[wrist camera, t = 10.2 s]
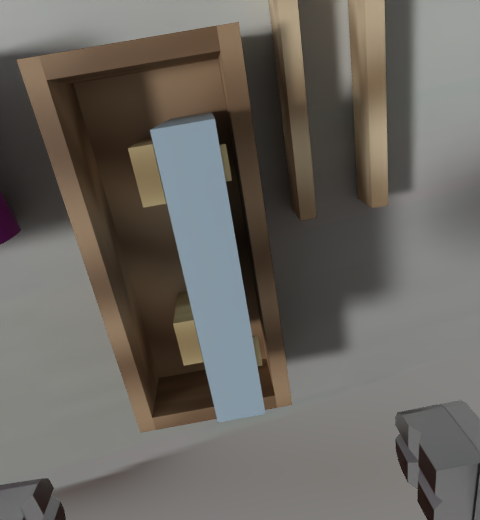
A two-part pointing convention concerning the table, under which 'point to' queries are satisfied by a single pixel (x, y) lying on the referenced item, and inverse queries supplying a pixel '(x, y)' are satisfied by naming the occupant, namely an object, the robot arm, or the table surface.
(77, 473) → the table surface
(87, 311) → the table surface
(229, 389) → the door
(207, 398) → the box
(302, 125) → the door stand
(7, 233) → the mounting bracket
